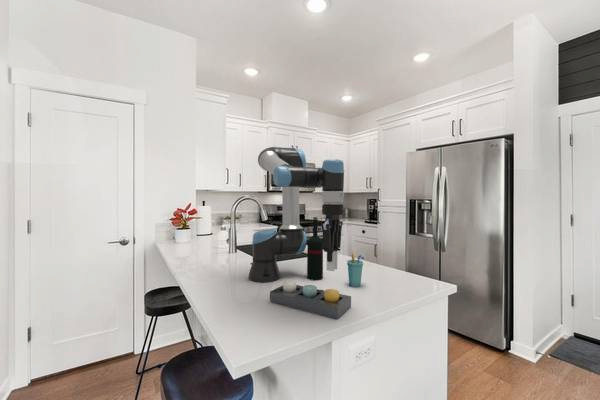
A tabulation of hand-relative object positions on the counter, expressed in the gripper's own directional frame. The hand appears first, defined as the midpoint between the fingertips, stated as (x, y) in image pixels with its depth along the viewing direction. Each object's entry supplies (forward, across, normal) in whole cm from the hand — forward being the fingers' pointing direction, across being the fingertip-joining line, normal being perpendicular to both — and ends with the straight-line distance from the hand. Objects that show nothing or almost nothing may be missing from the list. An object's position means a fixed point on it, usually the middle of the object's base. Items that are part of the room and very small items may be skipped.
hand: (332, 269), depth 99 cm
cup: (+15, +30, +2) cm, 33 cm away
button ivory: (+11, 0, +18) cm, 21 cm away
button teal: (+11, 0, +9) cm, 15 cm away
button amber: (+11, 0, 0) cm, 11 cm away
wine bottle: (+15, +31, +24) cm, 42 cm away
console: (+14, 0, +9) cm, 17 cm away
